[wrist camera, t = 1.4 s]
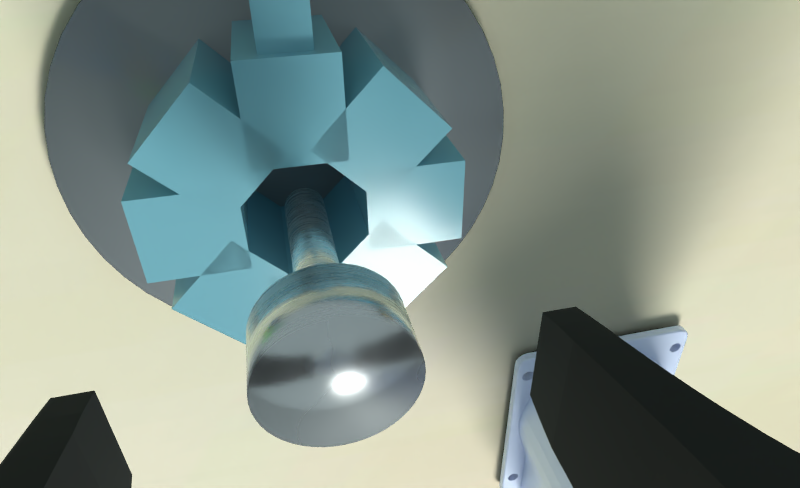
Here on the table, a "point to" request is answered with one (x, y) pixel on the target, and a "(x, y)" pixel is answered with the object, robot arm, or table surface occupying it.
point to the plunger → (328, 343)
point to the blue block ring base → (271, 139)
